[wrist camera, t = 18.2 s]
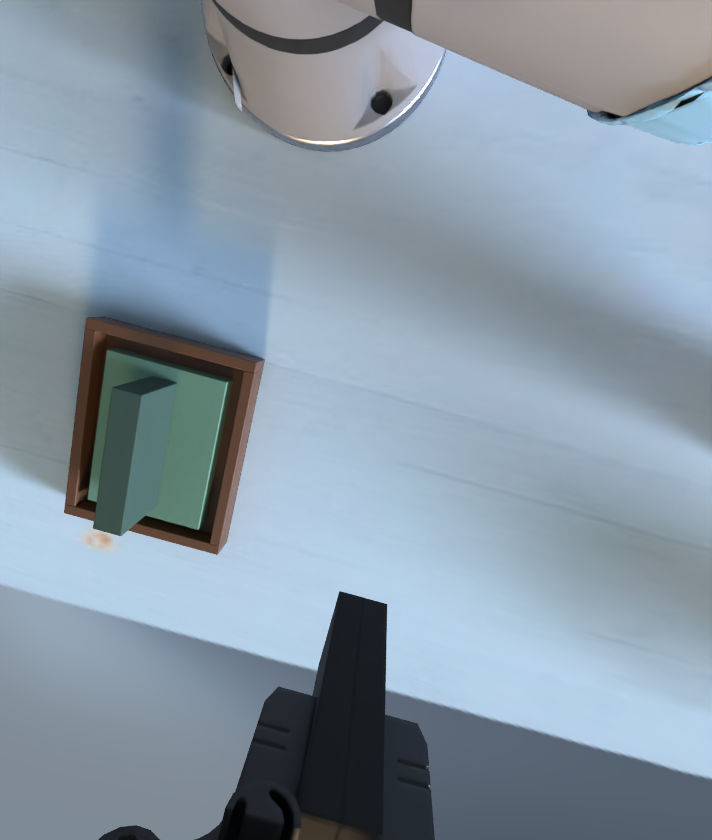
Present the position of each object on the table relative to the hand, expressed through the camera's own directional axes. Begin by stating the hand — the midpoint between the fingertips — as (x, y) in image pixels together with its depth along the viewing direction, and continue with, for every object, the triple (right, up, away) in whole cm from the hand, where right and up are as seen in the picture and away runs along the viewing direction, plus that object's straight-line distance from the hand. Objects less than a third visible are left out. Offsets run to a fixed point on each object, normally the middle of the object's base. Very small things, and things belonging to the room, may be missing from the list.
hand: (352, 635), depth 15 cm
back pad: (-15, +5, +22) cm, 27 cm away
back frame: (-15, +5, +23) cm, 28 cm away
